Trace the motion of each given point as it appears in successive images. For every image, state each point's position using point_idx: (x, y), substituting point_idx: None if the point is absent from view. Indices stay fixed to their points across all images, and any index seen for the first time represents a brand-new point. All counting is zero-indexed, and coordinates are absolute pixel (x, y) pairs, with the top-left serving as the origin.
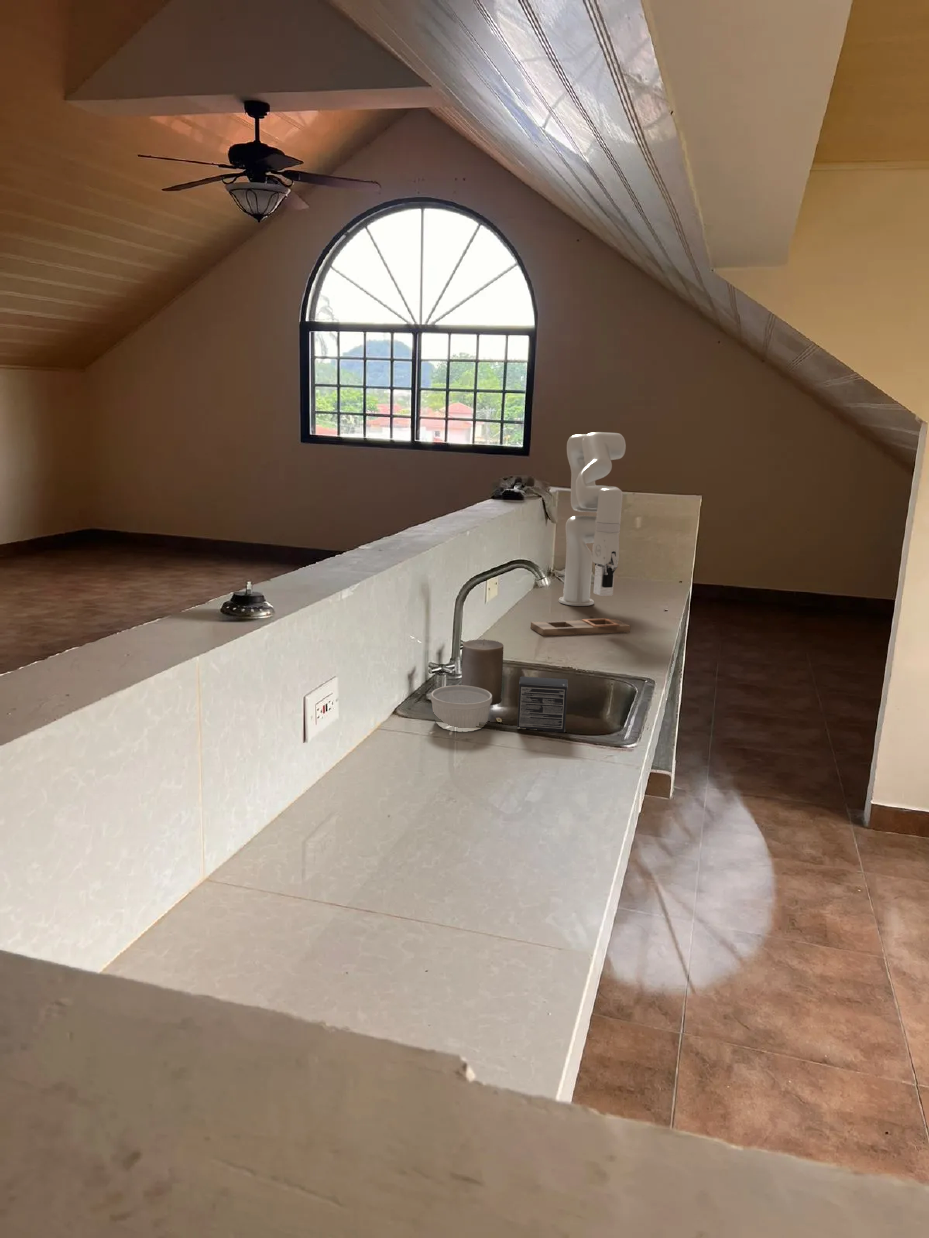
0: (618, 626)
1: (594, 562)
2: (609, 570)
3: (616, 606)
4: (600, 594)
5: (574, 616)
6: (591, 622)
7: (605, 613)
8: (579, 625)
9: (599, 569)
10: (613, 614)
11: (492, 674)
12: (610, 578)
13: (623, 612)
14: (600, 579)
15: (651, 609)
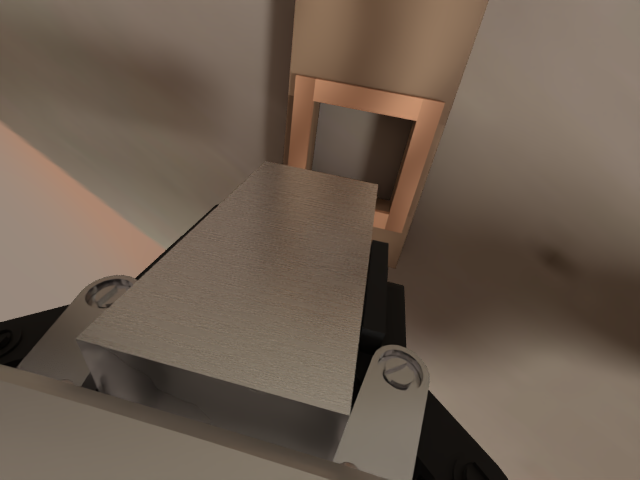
0: None
1: (375, 477)
2: (13, 328)
3: (615, 430)
4: (261, 167)
5: (630, 204)
6: (360, 109)
7: (563, 342)
8: (350, 6)
9: (194, 318)
10: (529, 351)
11: None
12: None
13: (529, 390)
14: (215, 225)
15: (502, 457)
